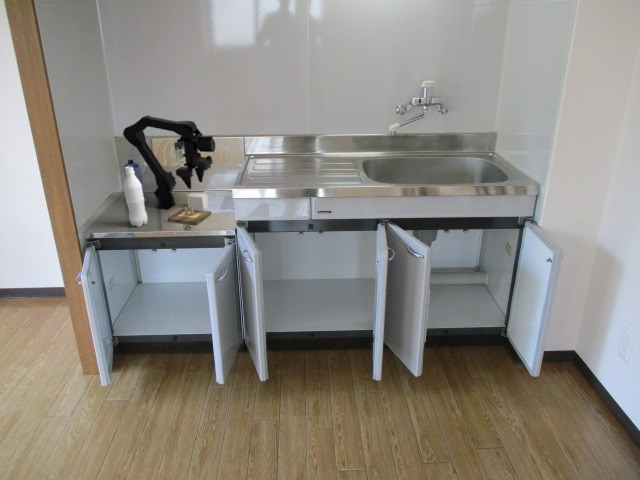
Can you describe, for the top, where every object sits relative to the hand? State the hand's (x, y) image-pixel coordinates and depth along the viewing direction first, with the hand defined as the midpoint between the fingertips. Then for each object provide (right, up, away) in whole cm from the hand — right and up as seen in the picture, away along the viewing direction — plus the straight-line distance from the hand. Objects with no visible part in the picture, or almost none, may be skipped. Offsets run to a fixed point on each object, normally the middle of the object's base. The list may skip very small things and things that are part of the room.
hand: (195, 185), depth 224 cm
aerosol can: (-30, -6, +13) cm, 34 cm away
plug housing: (0, -9, +5) cm, 11 cm away
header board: (-1, -15, -7) cm, 16 cm away
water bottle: (-21, -18, -12) cm, 30 cm away
